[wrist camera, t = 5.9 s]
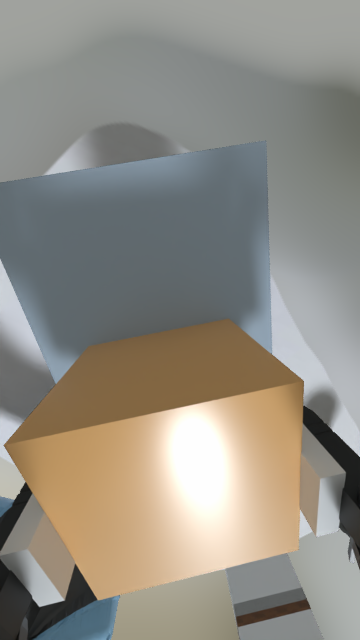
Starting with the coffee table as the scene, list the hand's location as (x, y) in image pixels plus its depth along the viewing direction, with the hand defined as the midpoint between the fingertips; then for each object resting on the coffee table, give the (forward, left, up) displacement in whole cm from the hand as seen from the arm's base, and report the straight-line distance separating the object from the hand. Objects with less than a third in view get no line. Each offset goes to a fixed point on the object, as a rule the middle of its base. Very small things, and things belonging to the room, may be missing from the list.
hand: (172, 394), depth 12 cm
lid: (0, 0, -1) cm, 1 cm away
